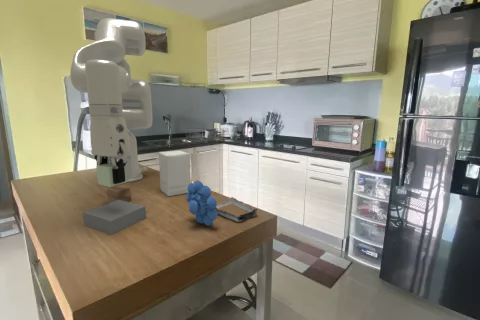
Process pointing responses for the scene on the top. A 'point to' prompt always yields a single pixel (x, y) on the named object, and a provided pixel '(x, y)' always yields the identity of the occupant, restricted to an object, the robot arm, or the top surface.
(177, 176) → the supplement box
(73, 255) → the top surface
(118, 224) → the base block
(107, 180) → the sage cube
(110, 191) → the walnut cube
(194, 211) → the grapes
